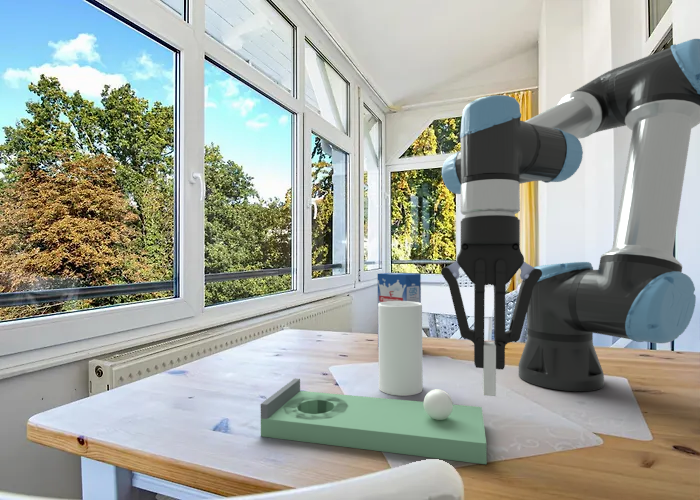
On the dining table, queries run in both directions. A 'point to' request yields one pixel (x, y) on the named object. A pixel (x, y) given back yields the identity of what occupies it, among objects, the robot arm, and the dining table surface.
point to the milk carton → (399, 287)
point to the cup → (400, 347)
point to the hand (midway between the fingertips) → (489, 392)
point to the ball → (438, 404)
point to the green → (374, 424)
